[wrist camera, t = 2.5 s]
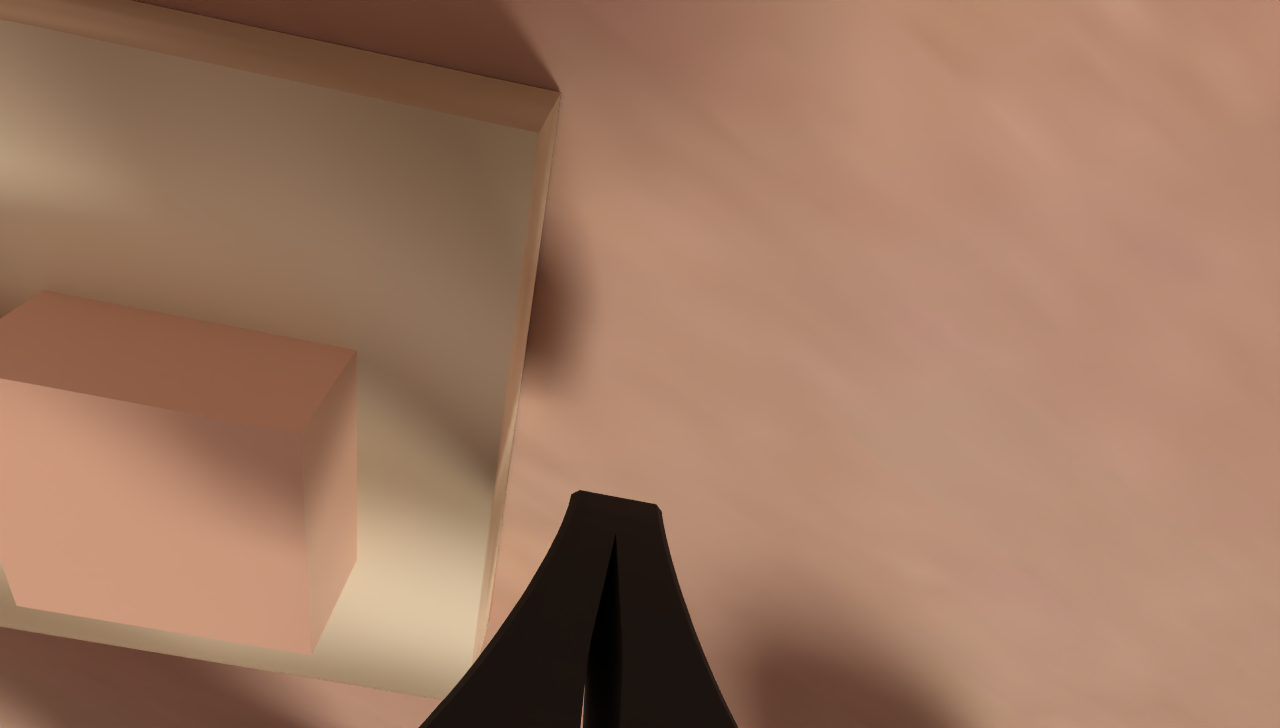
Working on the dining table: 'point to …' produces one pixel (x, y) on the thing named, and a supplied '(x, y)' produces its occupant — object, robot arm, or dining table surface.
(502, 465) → the plate
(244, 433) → the tile
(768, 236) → the dining table surface
